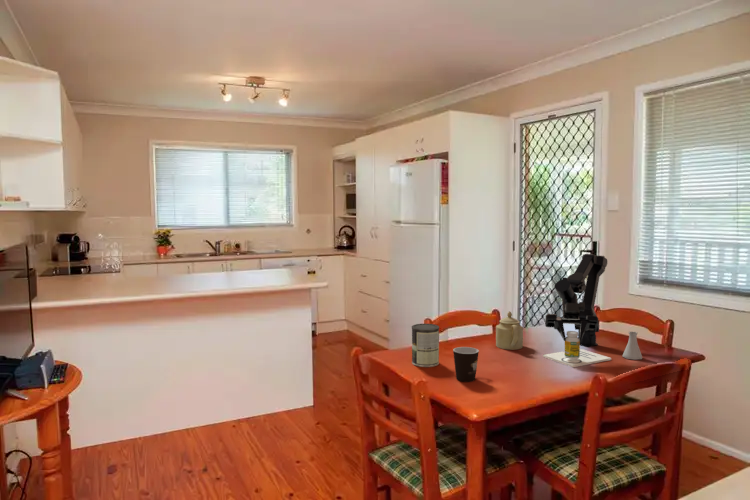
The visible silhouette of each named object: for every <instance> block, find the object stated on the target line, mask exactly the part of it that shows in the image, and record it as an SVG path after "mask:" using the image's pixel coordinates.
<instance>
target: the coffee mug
mask: <svg viewBox="0 0 750 500" xmlns="http://www.w3.org/2000/svg"><path fill="white" fill-rule="evenodd" d="M452 351H453V352H452V353H453V361H454V370H455V379H456V380H457V381H458V382H461V383H471V382H475V380H476V375H477V368H478V359H479V353H480V350H479V349H478V348H475V347H470V346H459V347H455V348H453V350H452Z"/></svg>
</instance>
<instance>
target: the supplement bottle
mask: <svg viewBox="0 0 750 500" xmlns="http://www.w3.org/2000/svg"><path fill="white" fill-rule="evenodd" d="M580 347H581V345H580V339H579V338H578V331H575V330H568V331H566V336H565V341H564V351H565V357H566V358H569V359H578V358H579V357H580V349H581V348H580Z"/></svg>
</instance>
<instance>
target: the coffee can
mask: <svg viewBox="0 0 750 500" xmlns="http://www.w3.org/2000/svg"><path fill="white" fill-rule="evenodd" d="M439 332H440V326H439V325H437V324H433V323H416V324H413V325H412V326H411V353H412V354H411V364H412V365H414V366H416V367H419V368H432V367H436V366H438V365H439V364H440V362H439V361H440V357H439V355H440V353H439V352H440V333H439Z"/></svg>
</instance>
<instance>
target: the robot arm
mask: <svg viewBox="0 0 750 500" xmlns="http://www.w3.org/2000/svg"><path fill="white" fill-rule="evenodd" d="M607 265H608V259H607V258H606V257H605V256H604V255H596V254H592V253H584V254H582V256H581V260H580V261H579V264H578V266H577V267H576V269H575V271H574V272H573V273H572V274H570V275H568V276H567V277H562V279H560V280H558V281H557V282H556V283H555V285H554V289H555V290H556V292H557V294H558V296H559V298H560V299H561V302H562V303H561V305H562V307H561V308H562V316H557V313H547V314H545V323H544V324H545V325H544V326H545V327H546V328H553V329H554V330H556V331H557V332H558V333H559V335H560V336H561V338H562V340H563V342H565V338H566V332H565V327H564V324H567V325H568V324H570V325H574V329H575V330H577V332H578V338H579V339H580V346H584V347H588V348H589V347H593V346H598V343H597V335H596V333H600V324H599V322H600V321H599V317H598V316H597V314H596V311H595V303H596V297H597V293H598V287H599V282H600V277H601V276H602V275H603V274H604V273H605V271H606V267H607ZM585 281H586V282H585ZM583 292H584V293H583ZM577 294H583V299H582V301H579V300H578V295H577ZM578 301H579V302H578ZM575 330H574V331H575Z"/></svg>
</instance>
